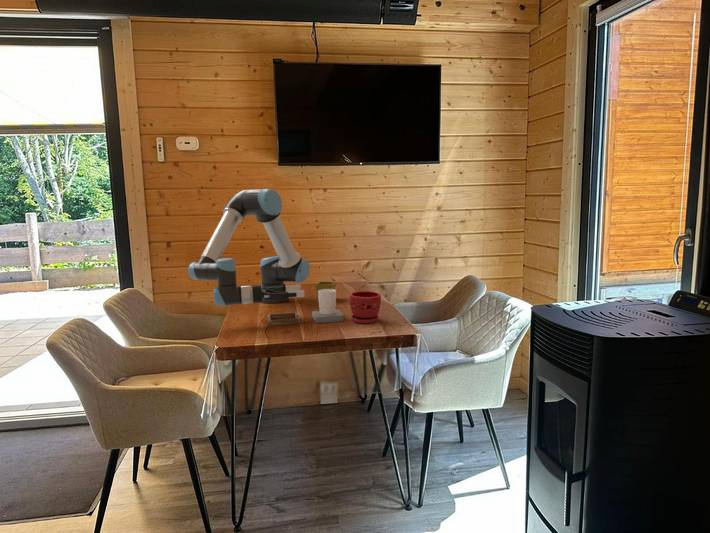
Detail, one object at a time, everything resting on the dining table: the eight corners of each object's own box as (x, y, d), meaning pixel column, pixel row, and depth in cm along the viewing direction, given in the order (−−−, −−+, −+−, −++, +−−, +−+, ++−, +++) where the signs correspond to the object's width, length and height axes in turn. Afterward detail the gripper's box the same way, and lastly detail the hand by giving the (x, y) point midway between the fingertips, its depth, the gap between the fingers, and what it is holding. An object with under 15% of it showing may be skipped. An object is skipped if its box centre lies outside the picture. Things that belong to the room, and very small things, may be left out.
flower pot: (315, 301, 249) (315, 284, 248) (320, 297, 257) (320, 281, 256) (331, 301, 247) (331, 284, 246) (336, 298, 255) (336, 281, 254)
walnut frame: (267, 318, 213) (267, 314, 213) (297, 316, 216) (296, 312, 215) (268, 325, 200) (268, 321, 200) (300, 323, 203) (299, 318, 203)
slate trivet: (312, 316, 215) (312, 311, 214) (338, 314, 217) (338, 309, 217) (315, 323, 203) (315, 317, 203) (343, 321, 206) (343, 315, 205)
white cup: (339, 311, 212) (338, 289, 211) (332, 315, 205) (332, 292, 204) (322, 310, 215) (321, 288, 213) (315, 314, 207) (315, 292, 206)
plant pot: (348, 324, 199) (347, 296, 197) (352, 317, 212) (352, 290, 210) (379, 325, 197) (379, 296, 196) (382, 317, 210) (382, 290, 209)
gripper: (252, 297, 215) (299, 293, 220) (253, 309, 191) (306, 305, 195) (251, 280, 214) (298, 277, 218) (251, 291, 190) (305, 287, 194)
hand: (302, 290), depth 207 cm, fingers open, 13 cm apart
